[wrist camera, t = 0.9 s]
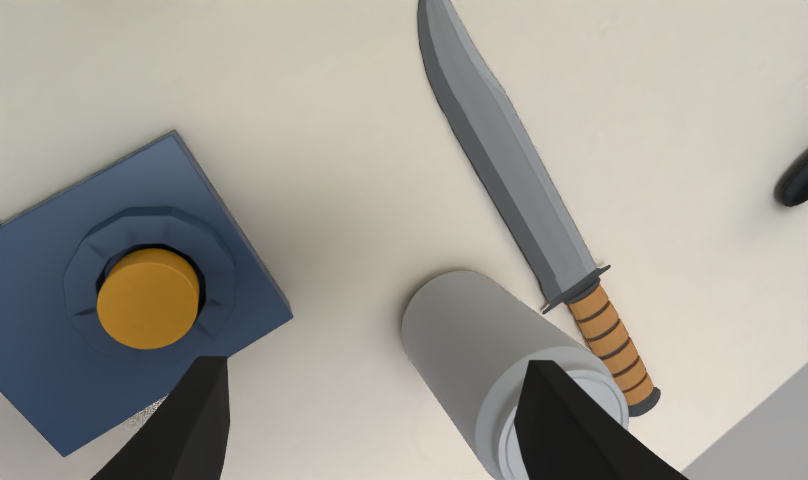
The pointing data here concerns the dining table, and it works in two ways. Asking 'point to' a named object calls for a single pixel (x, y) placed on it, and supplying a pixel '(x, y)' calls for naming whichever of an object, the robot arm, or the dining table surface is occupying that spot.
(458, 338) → the beverage can
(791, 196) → the can opener
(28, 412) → the button housing
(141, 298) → the trigger button
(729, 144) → the dining table surface
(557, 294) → the knife
